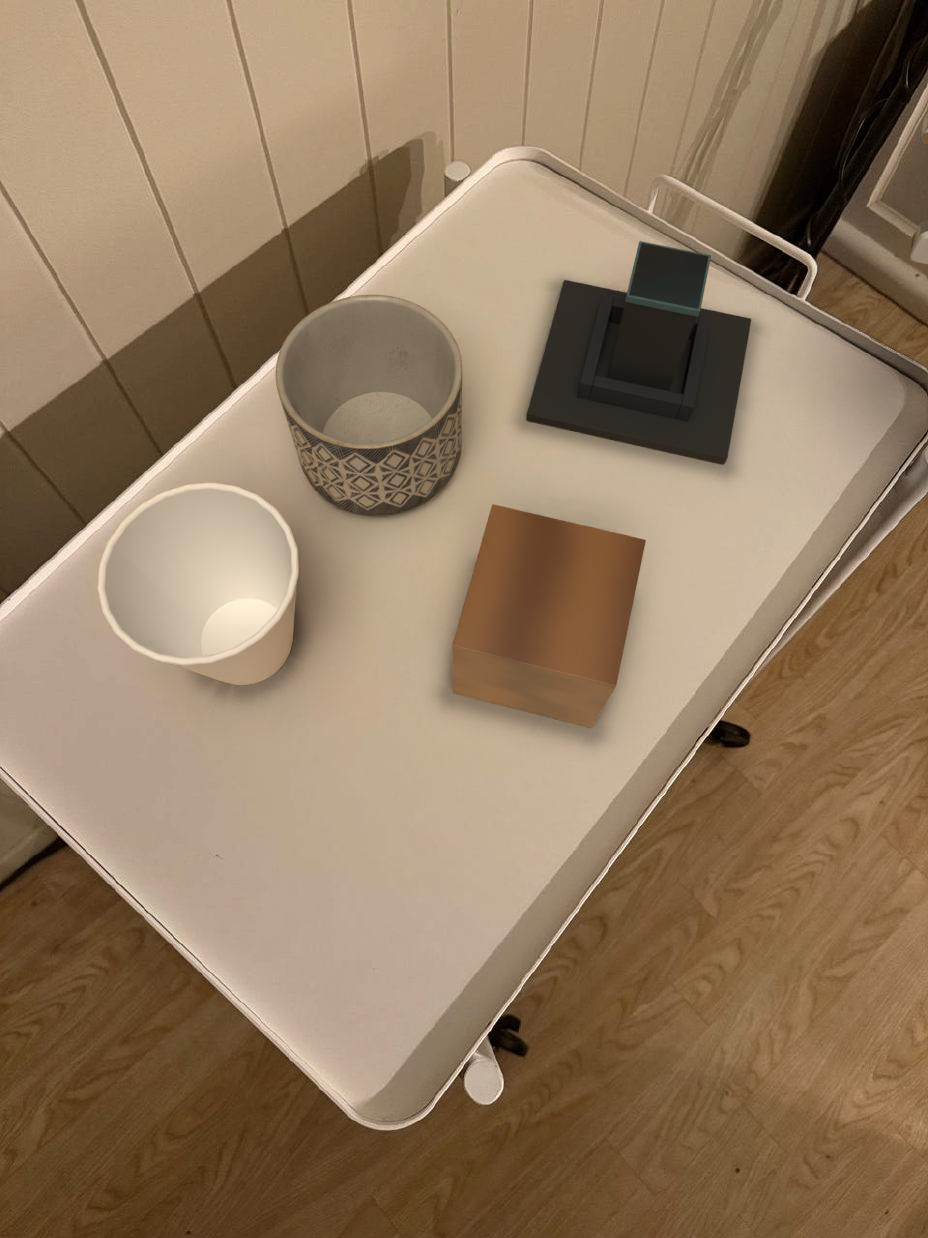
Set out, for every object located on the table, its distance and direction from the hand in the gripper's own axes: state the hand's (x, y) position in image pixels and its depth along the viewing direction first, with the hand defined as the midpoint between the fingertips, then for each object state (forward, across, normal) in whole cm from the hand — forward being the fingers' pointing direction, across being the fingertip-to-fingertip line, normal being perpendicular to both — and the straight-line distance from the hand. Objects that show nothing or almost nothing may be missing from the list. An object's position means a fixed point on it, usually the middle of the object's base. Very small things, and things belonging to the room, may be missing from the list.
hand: (920, 178), depth 50 cm
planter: (+30, +13, +22) cm, 40 cm away
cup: (+35, +30, +22) cm, 52 cm away
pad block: (+12, 0, +21) cm, 24 cm away
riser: (+15, +25, +22) cm, 37 cm away
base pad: (+12, 0, +22) cm, 25 cm away
